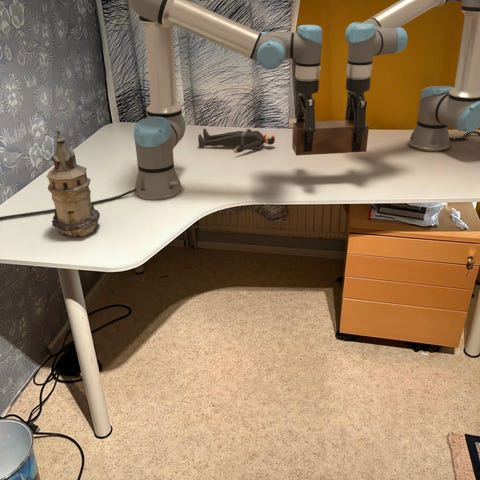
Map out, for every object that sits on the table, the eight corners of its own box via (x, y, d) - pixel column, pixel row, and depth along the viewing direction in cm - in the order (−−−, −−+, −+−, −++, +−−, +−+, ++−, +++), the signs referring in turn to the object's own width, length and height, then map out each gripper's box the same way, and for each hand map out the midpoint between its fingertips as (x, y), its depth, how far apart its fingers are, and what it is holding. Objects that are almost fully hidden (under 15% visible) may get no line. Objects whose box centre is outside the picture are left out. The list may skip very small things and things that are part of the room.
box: (296, 155, 175) (296, 129, 171) (292, 148, 181) (293, 122, 177) (366, 151, 177) (369, 125, 172) (360, 144, 183) (362, 119, 178)
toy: (208, 122, 226) (279, 122, 220) (210, 136, 230) (279, 136, 223) (191, 142, 204) (269, 142, 198) (193, 157, 207) (270, 158, 201)
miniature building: (80, 214, 164) (63, 117, 149) (111, 225, 157) (96, 125, 142) (44, 231, 154) (22, 130, 140) (75, 244, 147) (55, 139, 133)
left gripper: (328, 88, 156) (323, 157, 166) (310, 69, 178) (307, 131, 188) (303, 88, 155) (299, 158, 166) (288, 70, 177) (285, 132, 187)
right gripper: (380, 84, 159) (372, 157, 171) (361, 69, 177) (355, 136, 188) (355, 85, 159) (349, 158, 170) (338, 70, 176) (334, 137, 187)
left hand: (303, 144), depth 177 cm, fingers open, 13 cm apart
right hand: (352, 146), depth 179 cm, fingers closed on box, 7 cm apart
